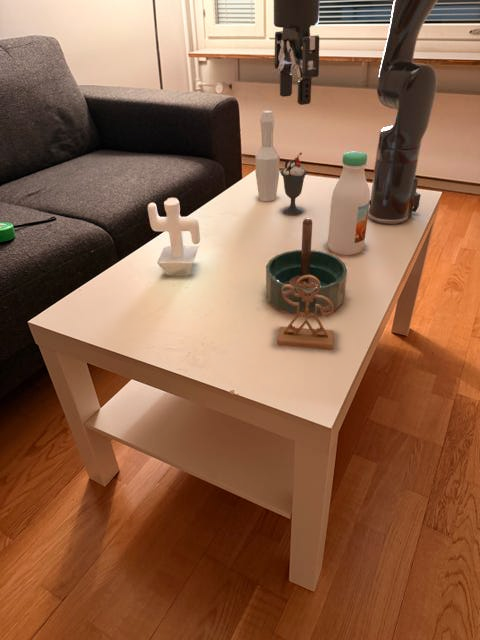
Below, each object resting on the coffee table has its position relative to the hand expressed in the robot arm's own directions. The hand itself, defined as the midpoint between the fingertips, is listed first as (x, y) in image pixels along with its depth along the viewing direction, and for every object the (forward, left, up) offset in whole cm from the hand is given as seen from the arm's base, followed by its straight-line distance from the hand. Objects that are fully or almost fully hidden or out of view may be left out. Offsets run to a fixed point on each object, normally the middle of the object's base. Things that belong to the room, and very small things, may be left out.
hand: (294, 99), depth 85 cm
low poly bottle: (-5, -29, -30) cm, 42 cm away
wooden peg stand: (+5, +20, -29) cm, 36 cm away
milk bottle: (-11, +5, -30) cm, 32 cm away
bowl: (+5, +20, -30) cm, 36 cm away
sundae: (-8, -18, -30) cm, 36 cm away
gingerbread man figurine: (+10, +32, -30) cm, 45 cm away
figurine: (+25, +2, -30) cm, 39 cm away
